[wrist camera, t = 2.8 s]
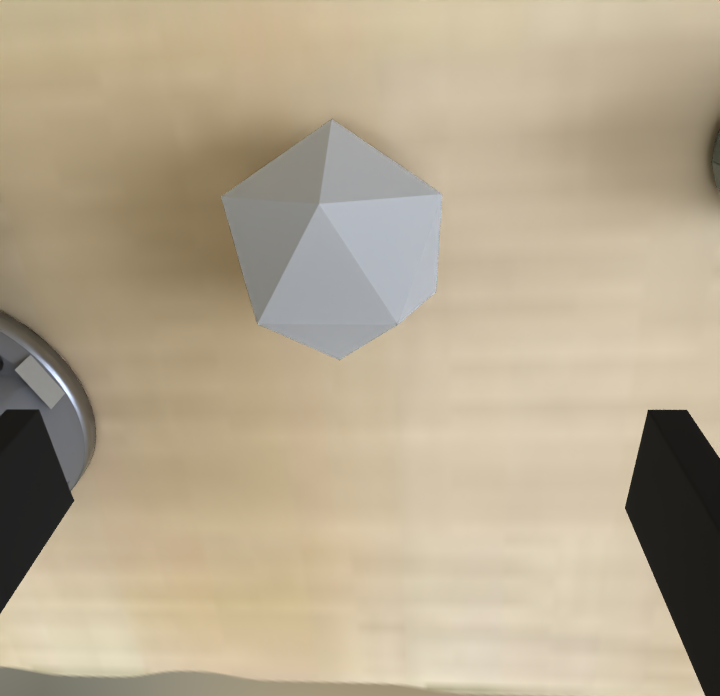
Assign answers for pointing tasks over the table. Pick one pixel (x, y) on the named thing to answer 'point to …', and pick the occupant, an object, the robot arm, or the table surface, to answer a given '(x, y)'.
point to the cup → (717, 161)
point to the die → (335, 241)
